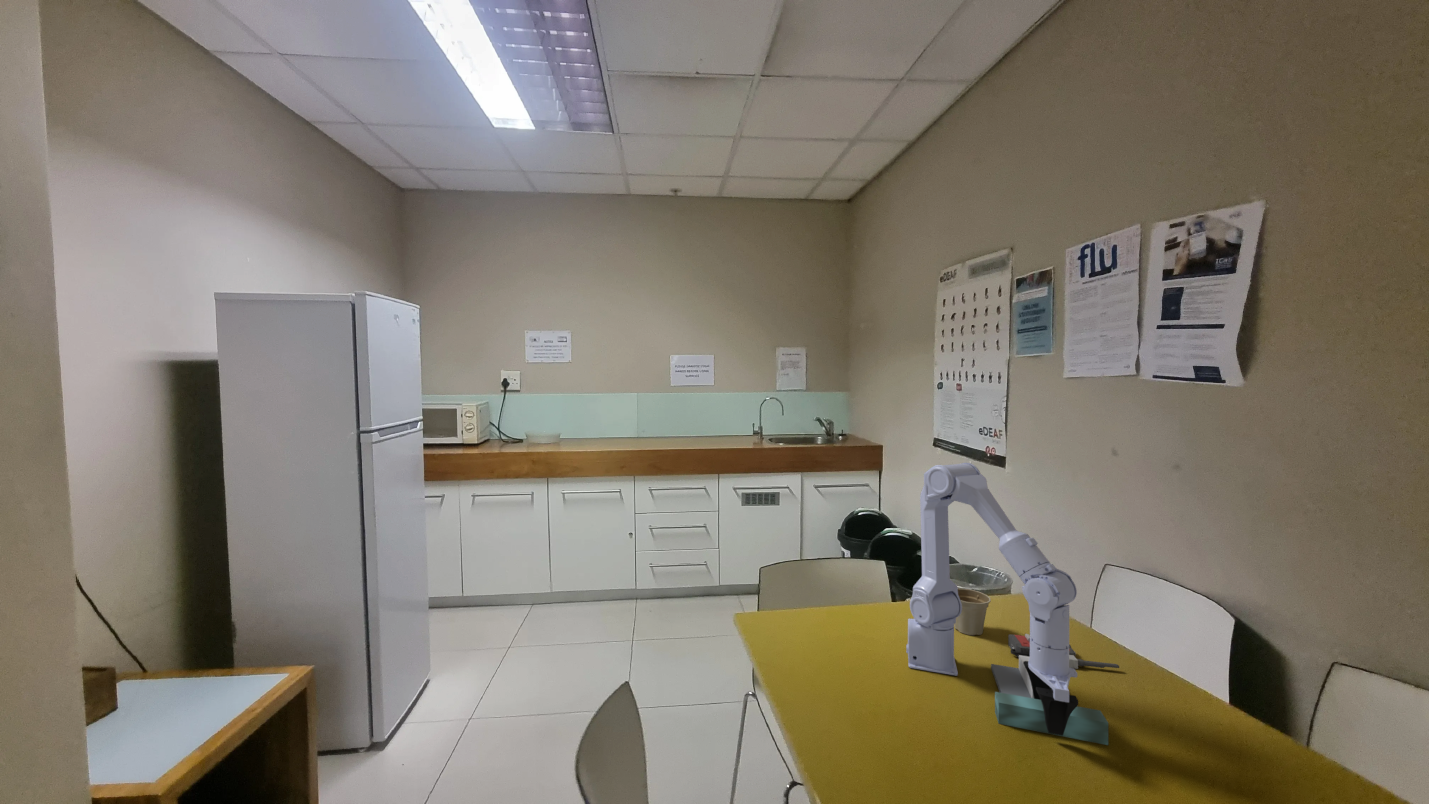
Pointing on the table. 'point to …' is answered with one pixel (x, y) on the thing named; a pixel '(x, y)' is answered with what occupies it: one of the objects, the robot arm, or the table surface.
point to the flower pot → (972, 611)
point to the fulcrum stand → (1013, 679)
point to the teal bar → (1031, 717)
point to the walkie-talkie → (1022, 647)
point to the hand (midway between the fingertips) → (1048, 719)
